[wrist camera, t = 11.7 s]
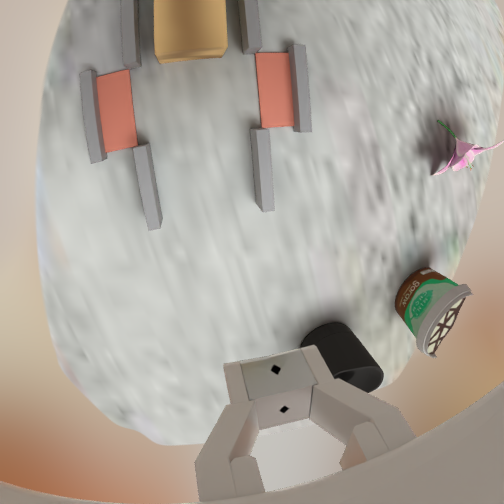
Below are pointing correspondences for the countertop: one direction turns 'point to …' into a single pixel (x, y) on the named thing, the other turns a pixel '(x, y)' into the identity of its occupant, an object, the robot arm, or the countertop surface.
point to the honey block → (189, 29)
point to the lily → (463, 153)
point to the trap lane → (272, 115)
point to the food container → (430, 307)
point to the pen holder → (346, 356)
